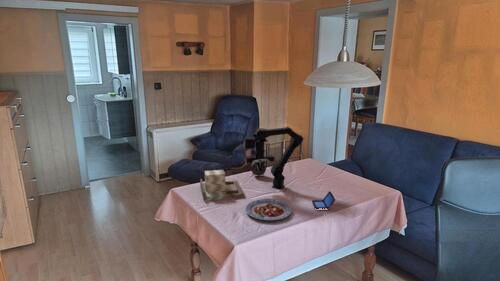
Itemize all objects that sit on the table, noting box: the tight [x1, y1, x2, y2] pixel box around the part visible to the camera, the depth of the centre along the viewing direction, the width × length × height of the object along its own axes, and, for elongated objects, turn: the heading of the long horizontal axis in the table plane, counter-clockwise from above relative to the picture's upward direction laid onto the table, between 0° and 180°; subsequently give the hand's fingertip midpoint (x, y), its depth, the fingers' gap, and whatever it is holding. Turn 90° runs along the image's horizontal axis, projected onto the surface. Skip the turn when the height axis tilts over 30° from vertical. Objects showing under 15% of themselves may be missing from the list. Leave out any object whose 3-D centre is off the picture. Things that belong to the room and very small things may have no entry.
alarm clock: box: [250, 160, 267, 178], centre depth 233 cm, size 11×5×16 cm, turn 84°
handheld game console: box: [311, 191, 336, 210], centre depth 188 cm, size 12×11×7 cm
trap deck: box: [199, 178, 245, 202], centre depth 206 cm, size 25×22×6 cm
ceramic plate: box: [244, 198, 292, 221], centre depth 181 cm, size 26×26×3 cm
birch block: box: [204, 169, 226, 192], centre depth 204 cm, size 12×8×11 cm, turn 104°
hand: (259, 171), depth 210 cm, fingers closed
